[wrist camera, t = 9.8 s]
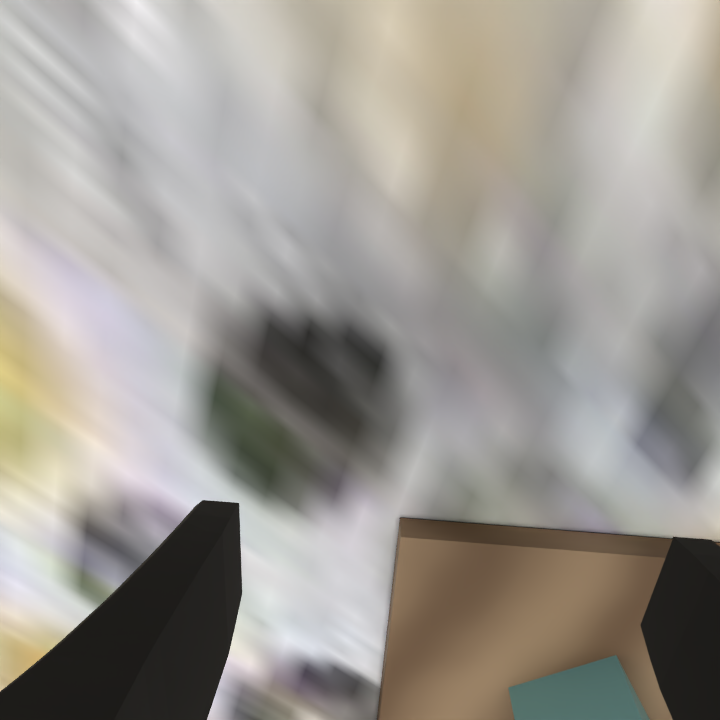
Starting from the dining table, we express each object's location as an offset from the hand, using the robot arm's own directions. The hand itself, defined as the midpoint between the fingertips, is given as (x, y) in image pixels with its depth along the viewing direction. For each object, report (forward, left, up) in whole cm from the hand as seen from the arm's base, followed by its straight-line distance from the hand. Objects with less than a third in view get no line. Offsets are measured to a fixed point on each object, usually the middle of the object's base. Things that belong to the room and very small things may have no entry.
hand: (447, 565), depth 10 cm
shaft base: (-8, +15, -9) cm, 19 cm away
